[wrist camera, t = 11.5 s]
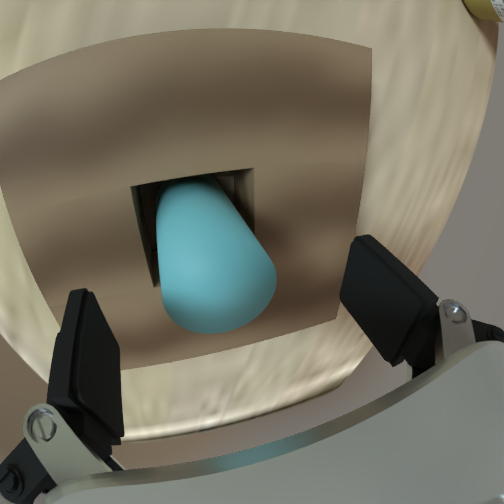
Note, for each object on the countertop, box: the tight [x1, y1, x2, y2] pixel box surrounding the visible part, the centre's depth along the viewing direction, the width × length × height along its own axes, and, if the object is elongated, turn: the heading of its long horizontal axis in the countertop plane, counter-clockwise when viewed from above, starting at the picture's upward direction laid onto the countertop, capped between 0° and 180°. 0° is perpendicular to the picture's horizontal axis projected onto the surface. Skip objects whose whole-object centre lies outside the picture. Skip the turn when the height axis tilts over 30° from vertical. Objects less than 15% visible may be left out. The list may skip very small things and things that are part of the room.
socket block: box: [0, 29, 372, 370], centre depth 16 cm, size 20×20×4 cm
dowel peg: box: [155, 174, 277, 334], centre depth 14 cm, size 4×4×9 cm
